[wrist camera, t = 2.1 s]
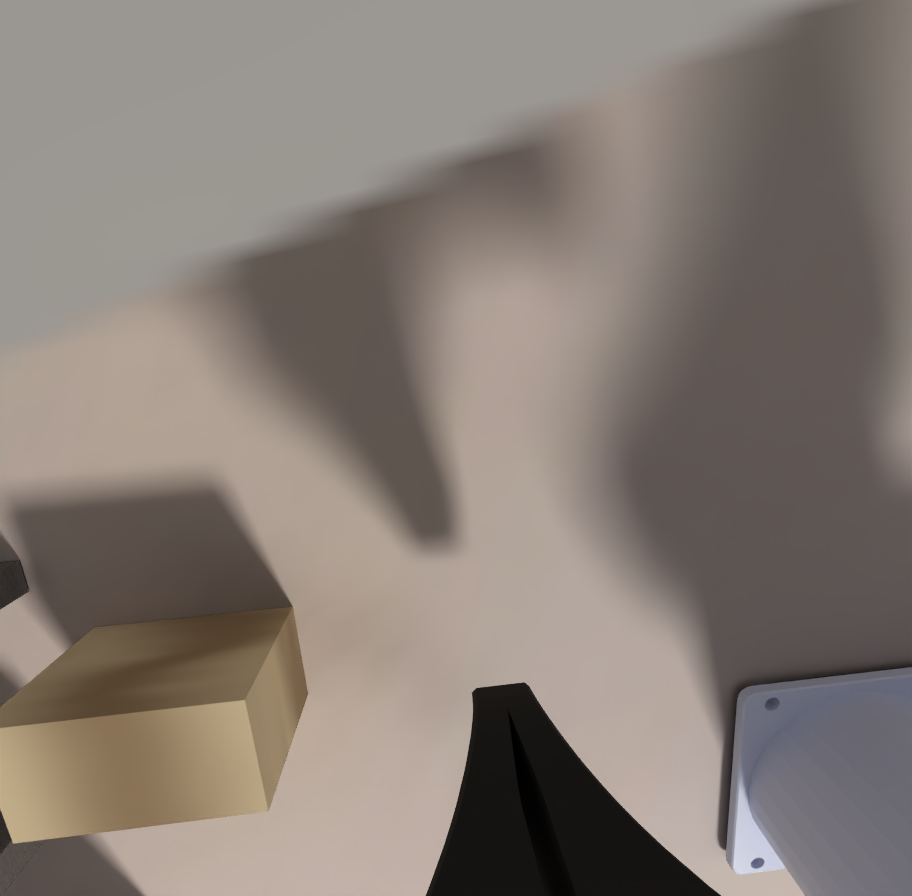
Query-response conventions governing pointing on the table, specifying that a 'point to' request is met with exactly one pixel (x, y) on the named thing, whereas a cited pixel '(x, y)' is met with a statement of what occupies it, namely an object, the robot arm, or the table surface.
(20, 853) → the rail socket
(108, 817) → the tan block
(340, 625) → the table surface
